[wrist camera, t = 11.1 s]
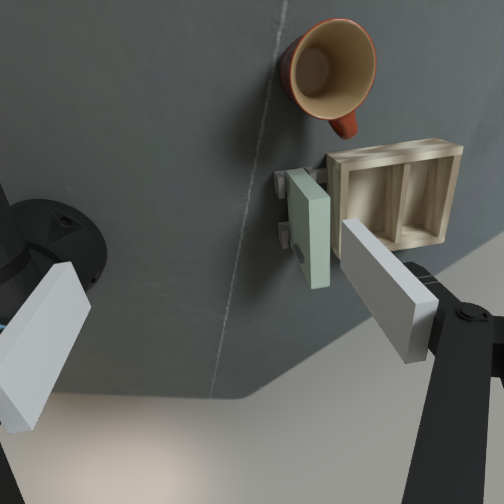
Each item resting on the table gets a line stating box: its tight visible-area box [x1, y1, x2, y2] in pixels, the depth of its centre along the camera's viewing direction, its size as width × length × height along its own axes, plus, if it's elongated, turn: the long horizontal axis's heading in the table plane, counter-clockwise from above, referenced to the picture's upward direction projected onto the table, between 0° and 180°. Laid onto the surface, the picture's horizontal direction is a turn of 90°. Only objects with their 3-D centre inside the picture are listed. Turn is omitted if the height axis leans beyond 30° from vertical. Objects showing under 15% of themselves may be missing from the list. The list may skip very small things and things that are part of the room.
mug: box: [280, 18, 376, 140], centre depth 38 cm, size 12×9×10 cm
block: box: [286, 168, 330, 289], centre depth 44 cm, size 3×12×12 cm, turn 7°
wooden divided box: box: [274, 138, 463, 259], centre depth 48 cm, size 24×14×6 cm, turn 96°
